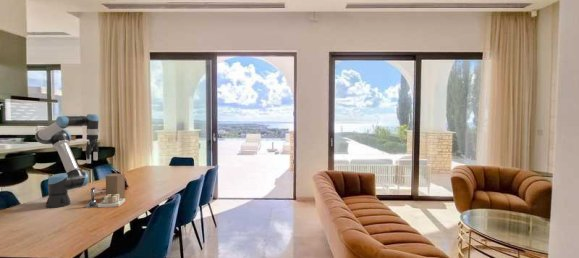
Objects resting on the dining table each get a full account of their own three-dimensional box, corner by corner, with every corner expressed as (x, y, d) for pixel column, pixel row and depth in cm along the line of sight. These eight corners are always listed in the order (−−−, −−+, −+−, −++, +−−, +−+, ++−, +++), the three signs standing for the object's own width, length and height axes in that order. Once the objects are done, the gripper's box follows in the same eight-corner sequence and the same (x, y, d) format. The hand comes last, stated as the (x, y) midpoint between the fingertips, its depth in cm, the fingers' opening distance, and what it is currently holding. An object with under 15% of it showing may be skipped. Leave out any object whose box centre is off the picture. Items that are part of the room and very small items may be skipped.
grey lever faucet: (83, 207, 229) (83, 189, 228) (88, 204, 237) (88, 186, 237) (96, 207, 230) (96, 189, 230) (101, 203, 239) (101, 186, 239)
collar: (115, 204, 236) (115, 196, 236) (101, 204, 234) (101, 197, 234) (119, 201, 244) (119, 194, 243) (105, 202, 242) (105, 194, 241)
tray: (97, 207, 230) (97, 204, 230) (105, 201, 245) (105, 199, 244) (119, 206, 233) (119, 203, 233) (125, 201, 248) (125, 198, 248)
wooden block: (124, 197, 259) (124, 173, 258) (117, 200, 249) (116, 176, 249) (113, 196, 260) (113, 173, 259) (105, 199, 250) (105, 175, 249)
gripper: (91, 136, 224) (91, 164, 225) (103, 133, 248) (103, 159, 249) (80, 135, 222) (79, 164, 223) (93, 132, 246) (92, 158, 247)
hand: (92, 161), depth 236 cm, fingers open, 13 cm apart
